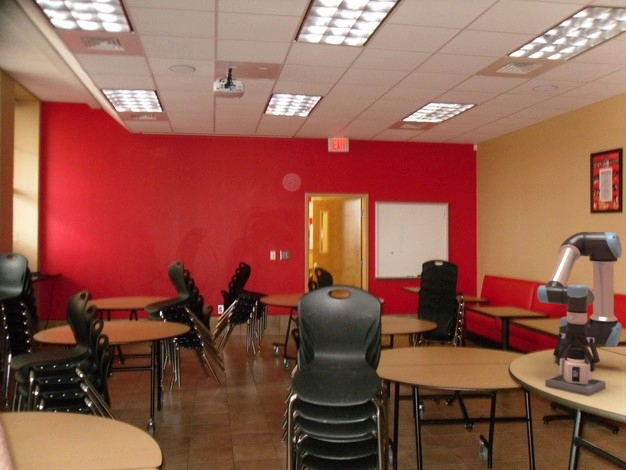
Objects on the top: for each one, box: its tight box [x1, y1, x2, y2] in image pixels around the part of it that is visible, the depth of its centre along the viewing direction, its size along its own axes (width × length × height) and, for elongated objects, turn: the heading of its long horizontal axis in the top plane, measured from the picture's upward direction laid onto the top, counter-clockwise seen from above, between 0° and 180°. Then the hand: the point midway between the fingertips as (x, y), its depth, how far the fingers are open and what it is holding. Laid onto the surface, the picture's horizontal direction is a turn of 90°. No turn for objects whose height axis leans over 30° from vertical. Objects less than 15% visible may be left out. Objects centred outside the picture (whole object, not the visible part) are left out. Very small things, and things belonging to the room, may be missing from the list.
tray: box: [544, 373, 606, 397], centre depth 226 cm, size 17×17×3 cm
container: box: [563, 349, 588, 384], centre depth 226 cm, size 8×8×13 cm
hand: (575, 376), depth 226 cm, fingers closed on container, 10 cm apart
